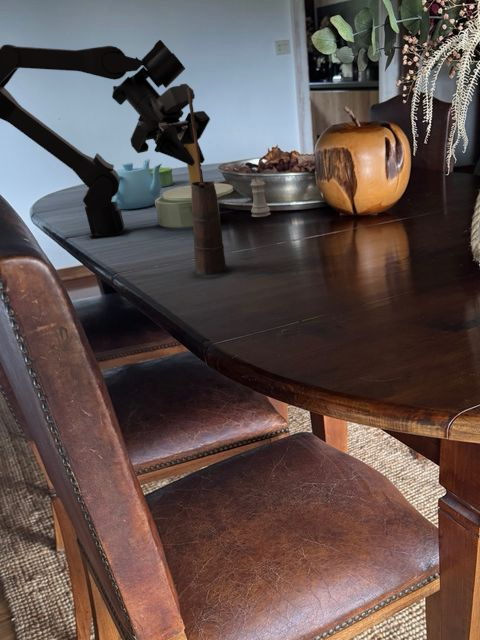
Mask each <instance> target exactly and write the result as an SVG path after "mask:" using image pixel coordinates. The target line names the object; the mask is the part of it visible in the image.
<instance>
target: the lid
mask: <svg viewBox="0 0 480 640" xmlns="http://www.w3.org/2000/svg"><path fill="white" fill-rule="evenodd" d="M184 147H185V148H186V149H187V151H188V152H189V153H190V155H191V156H192V158H193V159H194V161H195V163H194V165H193V166H191V165H189V164H186V166H187V171H188V172H187V173H188V177H189V178H188V179H189V183H190V185H184V186H178V187H174V188H171V189H168V190H166V191H164V192H162V194H161V195H162V196H163V198H164V199H166V200H172V201H179V202H192V188H191V183H193V182H200V178H199V169H198V163H197V155H196V147H195V143H185V144H184ZM200 168H201V169H202V166H201V167H200ZM214 185H215V190H216V194H217V198H218V199H219V198H221V197H223V196H226V195H228V194H232V192H234V186H233V185H232V184H227V183H219V182H218V183H215V182H214Z"/></svg>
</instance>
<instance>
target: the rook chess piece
mask: <svg viewBox="0 0 480 640" xmlns="http://www.w3.org/2000/svg"><path fill="white" fill-rule="evenodd" d="M250 181H251V182H250V184H249V186H250V187H251V188H252V191H251V193H252V195H253V201H252V202H253V203H252V206H251V209H250V213H252V214H251V217H254V218H261V217H267V216H270V215H271V214H272V213H271V212H270V211H271V208H270V207H269V206H268V204H267V201H266V197H265V188H264V186H265V184H266V182H265V181H264V178H252V179H251V180H250Z"/></svg>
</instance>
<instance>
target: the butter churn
mask: <svg viewBox="0 0 480 640" xmlns="http://www.w3.org/2000/svg"><path fill="white" fill-rule="evenodd" d="M190 88H191V87H190ZM190 88H188V89H187V90H188V99H189V104H188V107H189V113H190V114H191V121H192V128H193V134H194V141H195V147H196V155H197V163H198V169H199V178H200V182H193V183H191V188H192V214H193V217H192V220H193V226H192V230H193V231H192V233H193V234H192V235H193V249H194V251H193V252H194V267H195V273H196V274H197V275H200V276H211V275H212V276H213V275H216V274H220V273H222V272H225V271H226V270H227V264H226V257H225V256H226V255H225V250H224V249H225V246H224V243H223V231H222V224H221V214H220V215H219V211H220V208H219V209H218V204H219V201H218V202H217V194H216V190H215V185H214V183H215V181H214V180H209V181H208V180H206V181H205V180H204V176H203V169H202V163H201V162H200V154H199V148H198V144H199V139H198V140H197V132H196V126H195V118H194V112H195V111H194V106H193V105H194V103H193V102H192V97H191V89H192V88H191V89H190ZM200 167H201V168H200Z"/></svg>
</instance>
